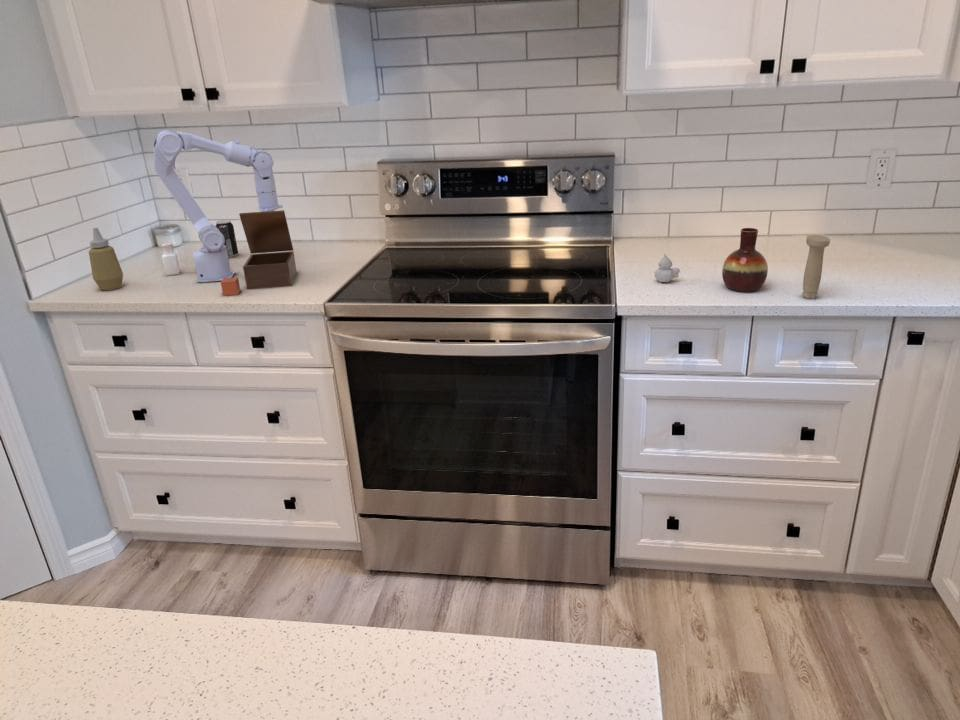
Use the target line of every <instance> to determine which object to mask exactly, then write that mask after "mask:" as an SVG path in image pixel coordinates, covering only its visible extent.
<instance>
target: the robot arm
mask: <svg viewBox="0 0 960 720" xmlns="http://www.w3.org/2000/svg"><path fill="white" fill-rule="evenodd" d="M152 148H153V169H154V171H155V173H156V175H157V176H158V177H159V178H160V180H161V182H162V183H163V184H164V186H165V187H166V189H167V190H168V191H169V193H170V194H171V195H172V197H173V199H174V200H175V201H176V202H177V204H178V206H179V207H180V208H181V210H182V211H183V212H184V214H185V215H186V217H187V218H188V220H189V222H191V224H192V226H193V227H194V228H195V230H196V231H197V233H198V238H199V240H200V242H201V243H202V246H201V247H200V250H194V253H193V261H194V267H195V271H196V275H197V283H208V282H209V283H210V282H211V283H212V282H221V281H222V280H223V279H224V278H234V275H235V274H236V271H232V270H231V264H230V258H228V254H227V249H226V246H225V245H224V243H225V239H224V236H223V234H222V233H221V232H220V230H219V229H218V228H217V227H216V225H214V224H212V222H210V220H209V218H208V217H207V216H206V214H205V213H204V211H203V210H202V208H201V207H200V206H199V204H198V202H197V201H196V200H195V198H194V196H192V194H191V192H190V191H189V190H188V188H187V186H186V185H185V184H184V182H183V181H182V180H181V178H180V177H179V175H178V174H177V172H176V171H175V169H174V167H175V164H176V159H177V157H178V155H180V153H181V152H182V150H183V151H189V150H192V149H199V150H202V151H206V152H209V153H214V154H217V155H220V156H221V155H222V156H223V157H224V159H225V161H226V162H228V163H229V162H230V163H233V164H237V165H241V166H244V167H247V168H250V167H252V169H253V175H254V176H253V179H254V186H255V191H256V199H257V203H258V207H257V208H258V210H259V212H266V211H277V210H278V209H282V208H283V204H279V200H278V193H277V188H276V181H275V176H274V171H273V166H274V162H275V161H274V159H273V158H272V155H271V154H270V153H268V152H267V151H265V150H263V149H261V148H257V146H249V145H245V144H241V142H240V141H238V140H234V141H232V140H231V141H229V142H227V143H222V142H218V141H216V140H213V139H210V138H206V137H202V136H200V135H196V134H193V133H190V132H184V131H177V130H176V131H173V130H171V129H165V128H164V129H161V130H159V131H158V132H157V133H156V135H155V138H154V141H153V145H152Z"/></svg>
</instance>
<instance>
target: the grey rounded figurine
mask: <svg viewBox="0 0 960 720" xmlns="http://www.w3.org/2000/svg"><path fill="white" fill-rule="evenodd" d="M657 265H658V268H657V269H656V270H655V271H654V274H653V275H654V278H655V279H656V280H657V281H658V282H659V283H669V282H670V281H672V280H673V279H677V278H679V273H680V271H681V269H680V268H678V267H673V262H672V260H671V258H669V257H668V256H667V254H666V253H664V256H663V257H662V258H661V259H660V261H659V262H658V263H657Z"/></svg>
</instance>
